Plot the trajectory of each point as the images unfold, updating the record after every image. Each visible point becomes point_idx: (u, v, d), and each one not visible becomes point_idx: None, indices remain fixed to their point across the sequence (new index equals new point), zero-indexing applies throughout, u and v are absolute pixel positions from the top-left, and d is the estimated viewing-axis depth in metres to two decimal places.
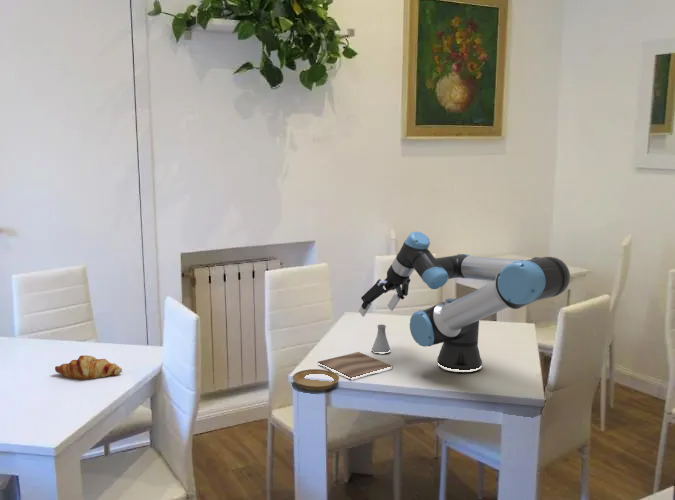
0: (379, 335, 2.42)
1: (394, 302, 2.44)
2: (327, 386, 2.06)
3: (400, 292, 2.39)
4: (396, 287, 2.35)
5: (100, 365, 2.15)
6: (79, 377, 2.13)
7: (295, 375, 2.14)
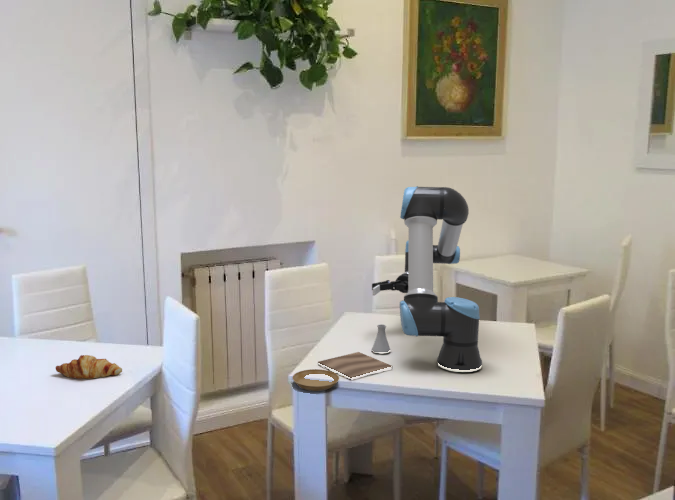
0: (379, 335, 2.42)
1: None
2: (327, 386, 2.06)
3: None
4: (405, 284, 2.61)
5: (100, 365, 2.15)
6: (79, 377, 2.13)
7: (295, 375, 2.14)
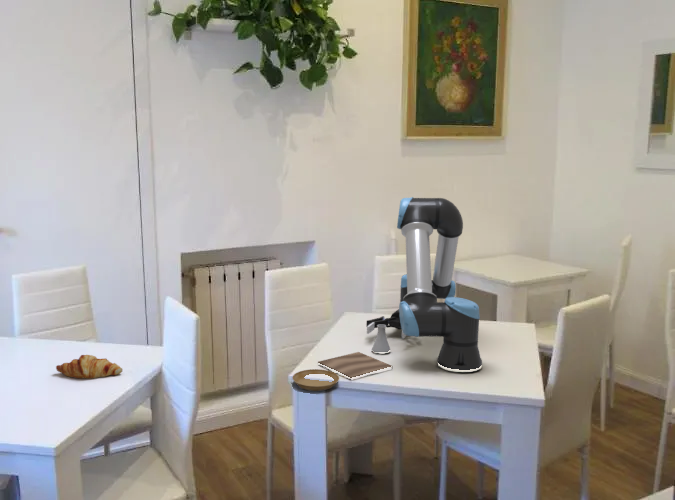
0: (379, 335, 2.42)
1: None
2: (327, 386, 2.06)
3: None
4: (400, 321, 2.59)
5: (101, 365, 2.15)
6: (79, 376, 2.13)
7: (295, 375, 2.14)
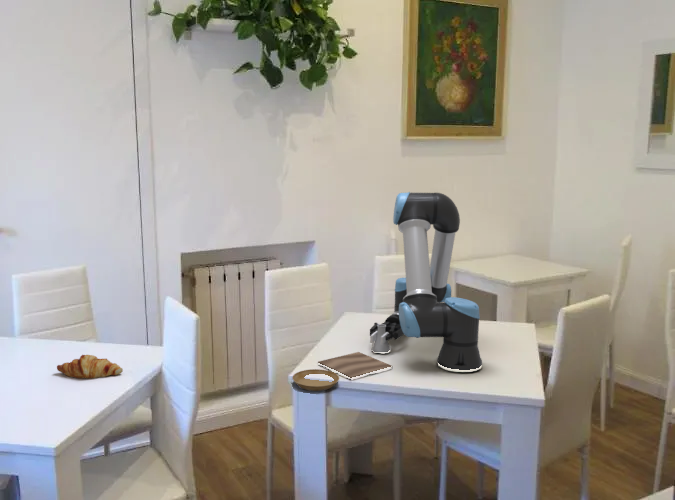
0: (379, 335, 2.42)
1: None
2: (327, 386, 2.06)
3: (392, 329, 2.47)
4: (391, 326, 2.52)
5: (101, 365, 2.15)
6: (80, 376, 2.14)
7: (295, 375, 2.14)
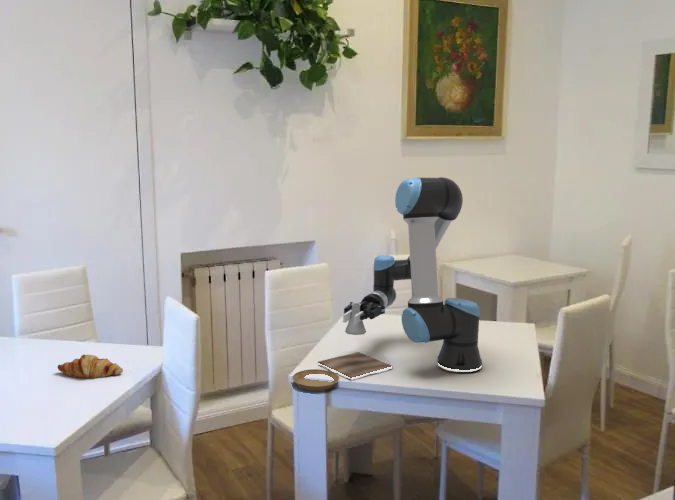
0: (353, 314, 2.25)
1: None
2: (327, 386, 2.06)
3: (367, 309, 2.30)
4: None
5: (101, 365, 2.15)
6: (80, 376, 2.14)
7: (295, 375, 2.14)
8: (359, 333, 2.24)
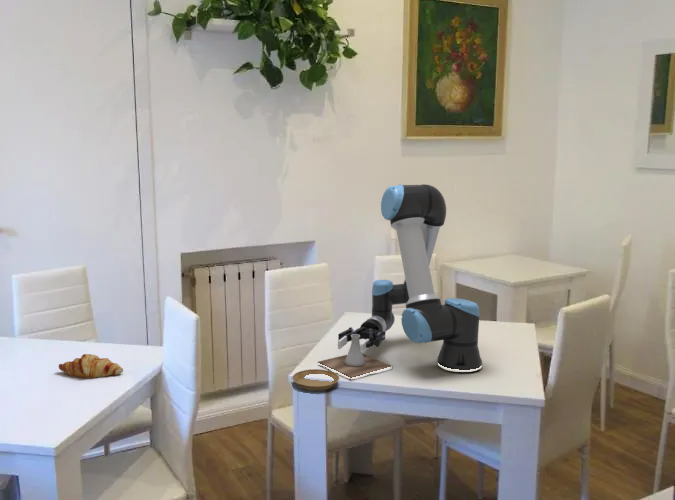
0: (352, 346, 2.26)
1: None
2: (327, 386, 2.06)
3: (371, 335, 2.30)
4: (368, 331, 2.35)
5: (101, 364, 2.15)
6: (80, 376, 2.14)
7: (295, 375, 2.14)
8: (358, 365, 2.25)
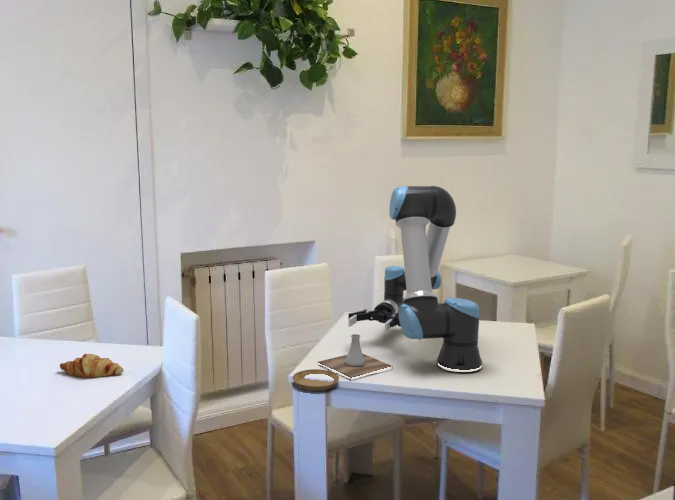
0: (352, 346, 2.26)
1: None
2: (327, 386, 2.06)
3: (390, 316, 2.44)
4: (383, 313, 2.48)
5: (102, 364, 2.16)
6: (81, 375, 2.15)
7: (295, 375, 2.14)
8: (358, 365, 2.25)
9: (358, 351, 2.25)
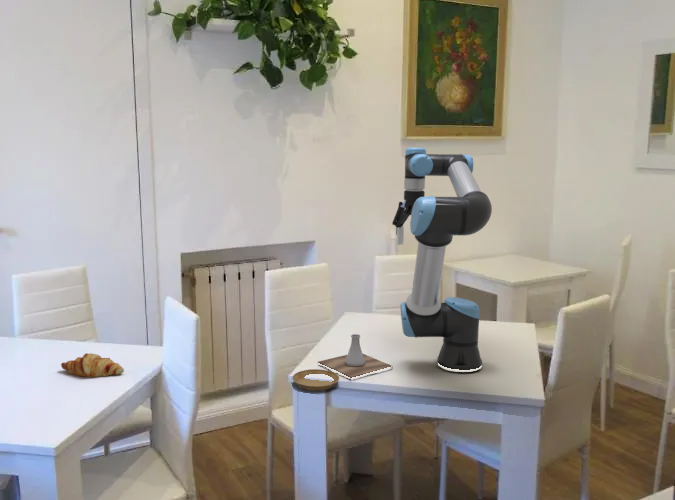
0: (352, 346, 2.26)
1: None
2: (327, 386, 2.06)
3: None
4: None
5: (102, 364, 2.16)
6: (81, 375, 2.15)
7: (295, 375, 2.14)
8: (358, 365, 2.25)
9: (358, 351, 2.25)
